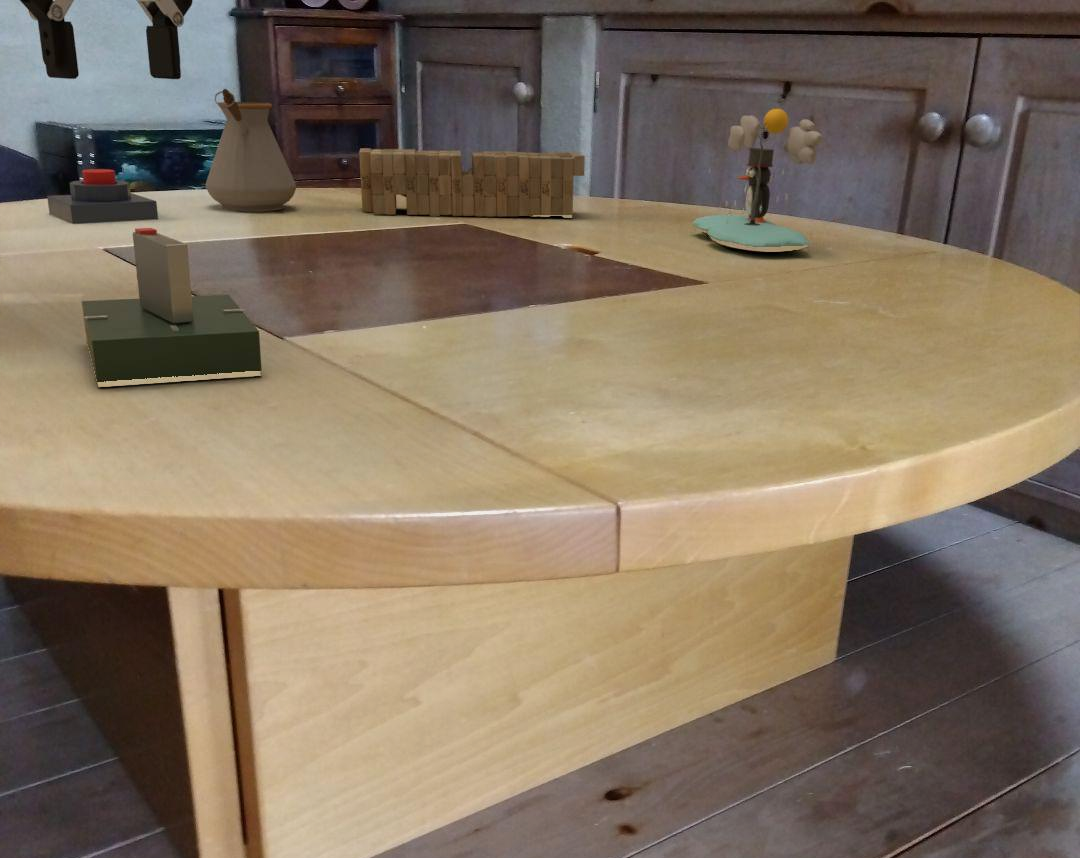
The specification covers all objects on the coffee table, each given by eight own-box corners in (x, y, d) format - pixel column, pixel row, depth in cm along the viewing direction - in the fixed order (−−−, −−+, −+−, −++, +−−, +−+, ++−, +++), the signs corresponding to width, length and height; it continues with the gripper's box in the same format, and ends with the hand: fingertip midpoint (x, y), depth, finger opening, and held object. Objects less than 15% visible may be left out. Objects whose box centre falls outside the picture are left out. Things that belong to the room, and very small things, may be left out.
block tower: (361, 221, 145) (584, 219, 148) (357, 153, 142) (586, 151, 145) (364, 213, 153) (576, 210, 155) (360, 147, 149) (577, 146, 152)
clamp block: (96, 388, 69) (89, 337, 68) (85, 343, 79) (79, 298, 78) (263, 376, 73) (260, 328, 72) (233, 335, 83) (230, 292, 82)
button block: (72, 224, 129) (68, 188, 127) (49, 214, 135) (44, 180, 134) (158, 219, 135) (155, 185, 133) (132, 210, 141) (128, 177, 139)
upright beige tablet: (194, 322, 73) (187, 239, 71) (173, 324, 72) (165, 241, 70) (160, 305, 77) (152, 227, 75) (139, 307, 76) (131, 228, 74)
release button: (89, 188, 131) (87, 172, 130) (79, 184, 134) (77, 169, 133) (120, 187, 133) (118, 171, 133) (110, 183, 136) (108, 168, 135)
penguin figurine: (685, 231, 142) (696, 102, 136) (767, 233, 143) (781, 105, 137) (726, 258, 123) (740, 110, 117) (819, 260, 125) (839, 114, 118)
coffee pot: (215, 201, 152) (206, 82, 146) (302, 203, 153) (296, 85, 147) (183, 224, 132) (171, 87, 126) (282, 226, 133) (275, 90, 127)
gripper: (12, -196, 75) (48, 80, 82) (215, -154, 88) (231, 80, 95) (-51, -188, 79) (-12, 75, 86) (153, -149, 92) (173, 77, 99)
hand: (116, 78), depth 90 cm, fingers open, 9 cm apart
